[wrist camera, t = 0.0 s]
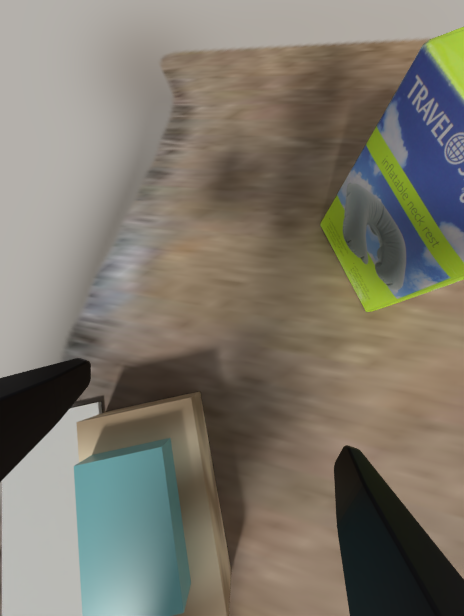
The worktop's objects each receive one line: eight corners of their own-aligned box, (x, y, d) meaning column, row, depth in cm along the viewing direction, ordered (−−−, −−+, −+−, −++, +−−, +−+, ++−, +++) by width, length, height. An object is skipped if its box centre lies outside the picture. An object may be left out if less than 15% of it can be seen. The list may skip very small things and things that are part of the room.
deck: (231, 571, 20) (228, 622, 16) (121, 595, 20) (91, 652, 16) (200, 391, 23) (190, 397, 19) (105, 412, 23) (76, 422, 19)
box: (316, 225, 26) (454, -33, 9) (352, 211, 26) (554, -67, 9) (364, 316, 24) (671, 202, 7) (403, 301, 24) (800, 150, 7)
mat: (119, 611, 19) (115, 617, 19) (8, 635, 19) (1, 642, 19) (101, 401, 23) (98, 402, 22) (7, 421, 23) (2, 423, 22)
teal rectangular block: (191, 582, 16) (183, 613, 14) (102, 602, 16) (83, 634, 14) (170, 437, 18) (161, 446, 16) (91, 454, 18) (73, 466, 16)
